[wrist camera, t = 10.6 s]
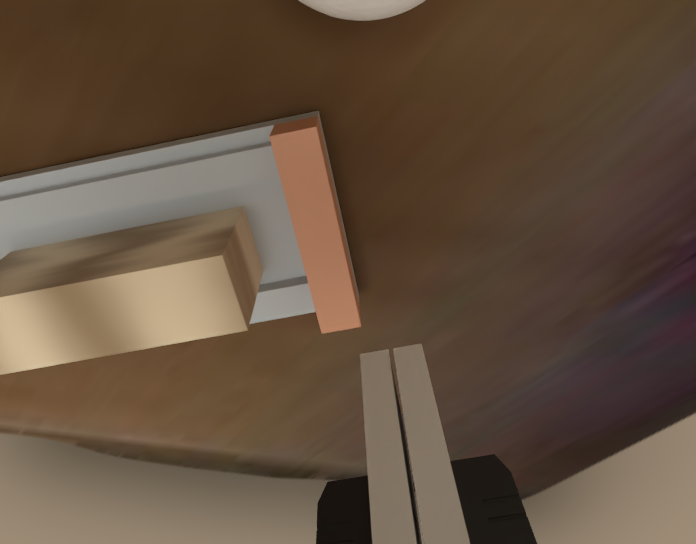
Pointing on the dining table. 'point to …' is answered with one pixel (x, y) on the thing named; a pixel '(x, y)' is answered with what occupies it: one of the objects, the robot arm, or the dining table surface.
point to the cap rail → (209, 207)
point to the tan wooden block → (128, 290)
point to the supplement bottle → (362, 8)
